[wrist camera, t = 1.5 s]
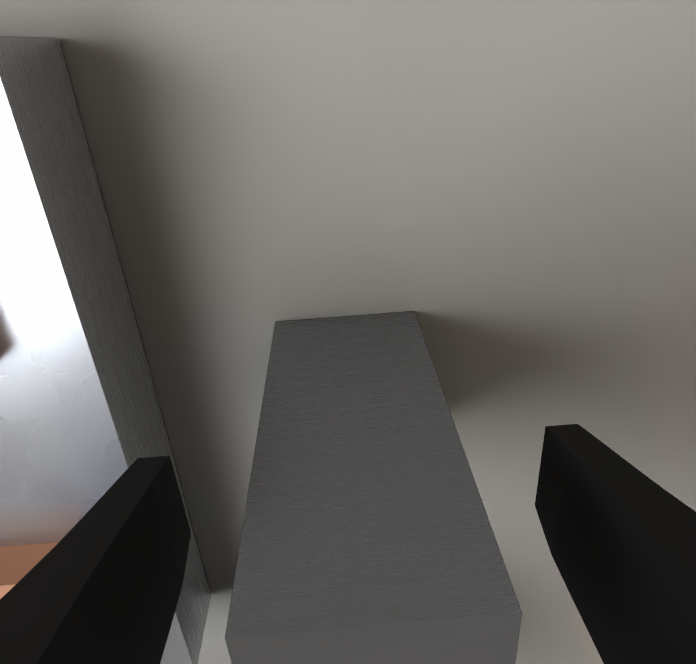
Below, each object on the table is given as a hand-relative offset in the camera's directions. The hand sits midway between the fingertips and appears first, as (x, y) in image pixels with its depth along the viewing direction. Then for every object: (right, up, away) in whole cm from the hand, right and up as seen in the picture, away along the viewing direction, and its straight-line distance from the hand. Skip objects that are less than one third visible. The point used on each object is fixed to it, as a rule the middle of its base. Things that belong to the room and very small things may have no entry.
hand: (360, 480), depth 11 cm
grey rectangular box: (0, +2, +3) cm, 4 cm away
